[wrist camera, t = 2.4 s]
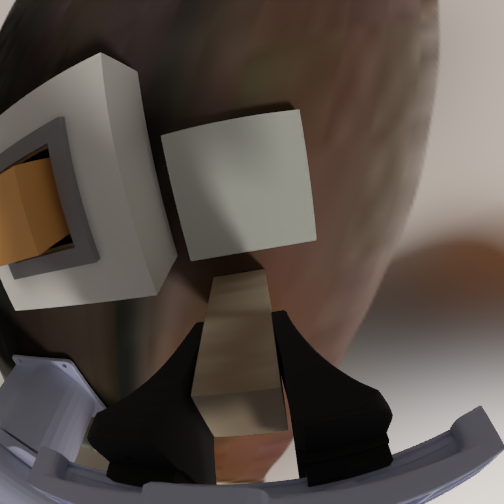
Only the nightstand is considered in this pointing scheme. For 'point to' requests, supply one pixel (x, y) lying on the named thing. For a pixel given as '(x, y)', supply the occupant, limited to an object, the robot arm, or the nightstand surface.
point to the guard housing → (91, 189)
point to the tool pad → (241, 184)
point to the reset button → (29, 211)
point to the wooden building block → (239, 360)
